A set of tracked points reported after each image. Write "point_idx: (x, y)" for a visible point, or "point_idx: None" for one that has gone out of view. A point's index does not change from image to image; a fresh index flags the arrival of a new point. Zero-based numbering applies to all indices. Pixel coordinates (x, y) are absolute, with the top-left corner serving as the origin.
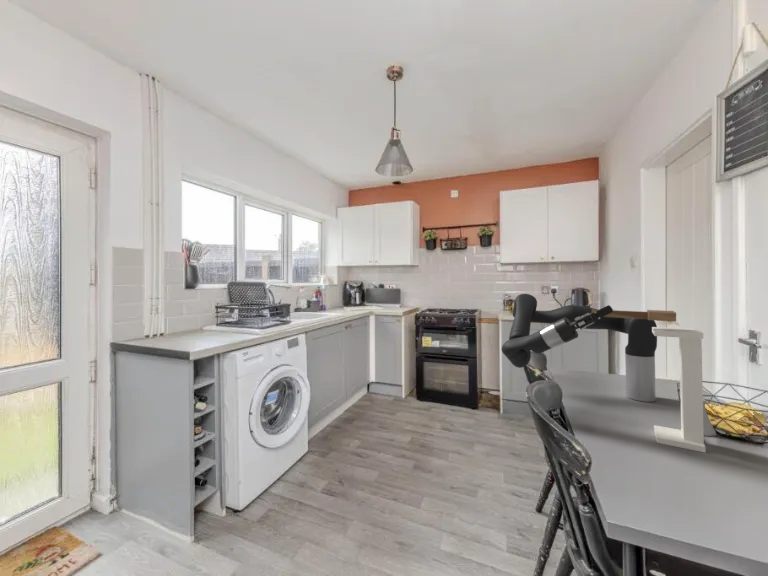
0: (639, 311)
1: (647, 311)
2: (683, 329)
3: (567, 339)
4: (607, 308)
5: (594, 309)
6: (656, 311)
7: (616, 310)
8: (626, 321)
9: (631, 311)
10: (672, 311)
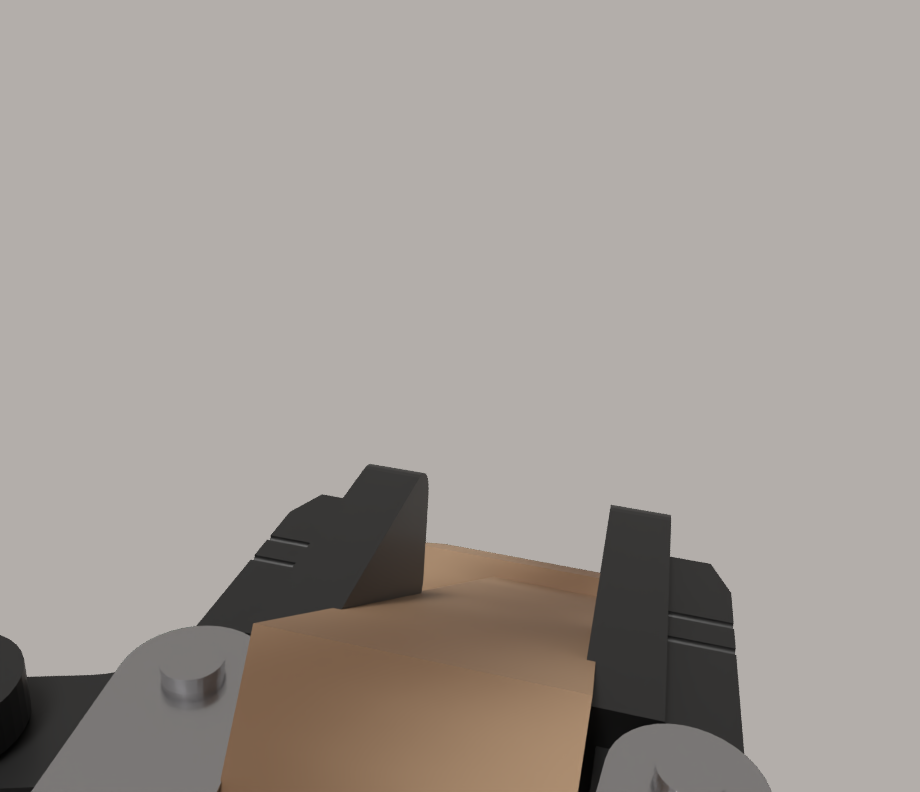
0: (493, 581)
1: (497, 573)
2: None
3: None
4: (711, 587)
5: (284, 617)
6: None
7: (441, 592)
8: None
9: (552, 597)
10: (520, 558)
